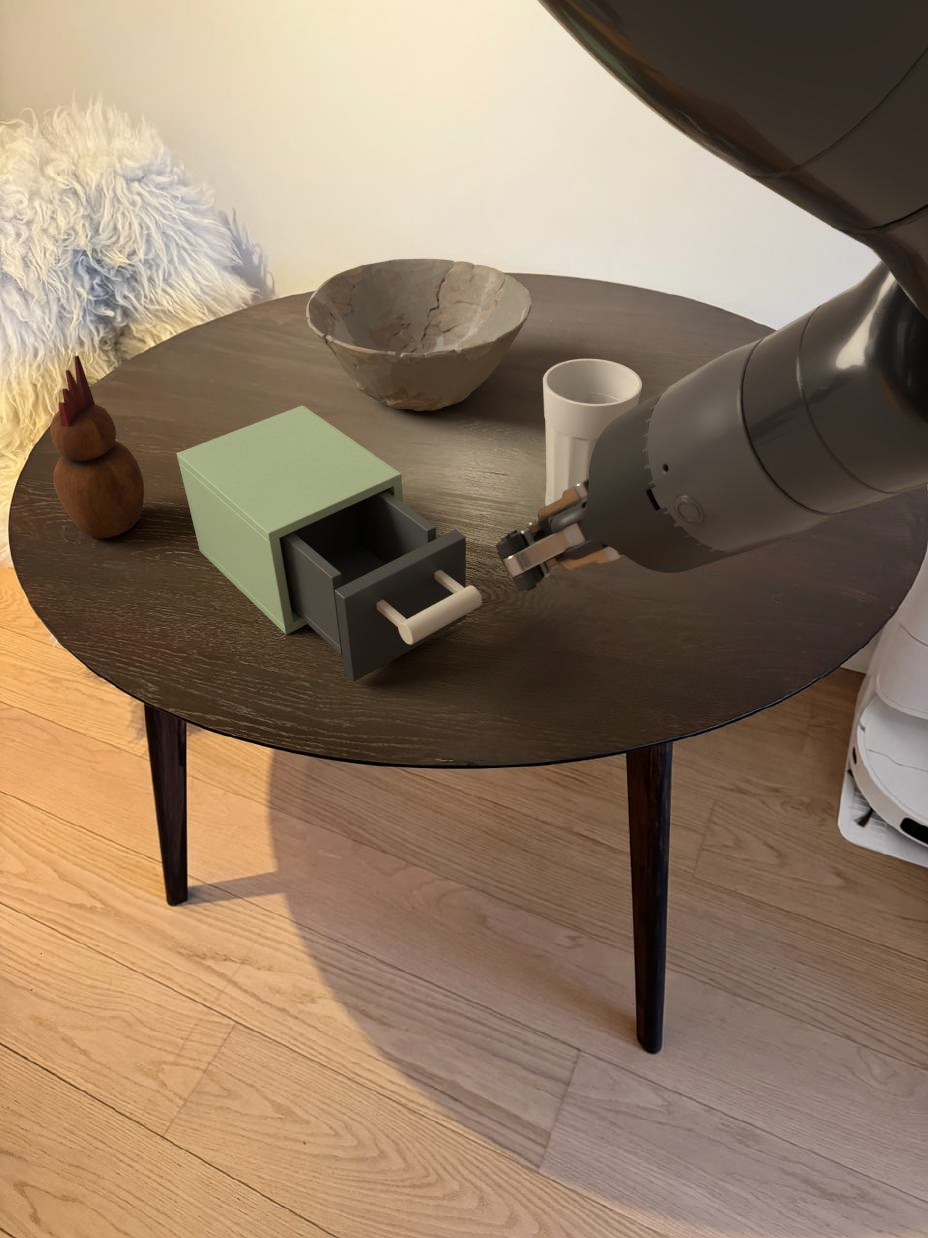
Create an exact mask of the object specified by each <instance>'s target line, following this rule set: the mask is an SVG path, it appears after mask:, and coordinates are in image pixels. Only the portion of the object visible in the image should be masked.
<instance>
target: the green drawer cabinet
mask: <svg viewBox="0 0 928 1238" xmlns="http://www.w3.org/2000/svg"><path fill="white" fill-rule="evenodd" d="M176 457H177V461H178V465H179V469H180V474H181V477H182V478H181V479H182V482H183V486H184V490H185V495H186V499H187V502H188V507H189V512H190V516H191V519H192V523H193V528H194V532H195V536H196V541H197V544H198V550H199V552H200V553H201V554H202V555H203V556H204V557H205V558H206V559H207V560H208V561H209V562H211V564H212V565H213V566H214V567H215V568H216V569H217V570H219V572H221V574H223V576H225V577H226V578H227V579H228V580H229V581H230V582H231V583H232V584H233V585H234V586H235V587H236V588H237V589H238V590H239V591H240V592H241V593H242V594H243V595H244V596H245V597H246V598H247V599H248V600H250V601H251V603H252V604H254V605H255V606H256V607H257V608H258V609H259V610H260V611H261V612H262V613H263V614H264V615H265V616H266V617H267V618H268V619H269V620H270V621H271V622H272V623H273V624H274V625H275V626H276V627H277V628H279V630H280V631H282V633H283V634H285V635H286V636H287V635H289V634H290V633H293V632H295V631H297V630H298V629H301V628H302V627H305V626H306V625H308V624H307V623H306V622H305V621H304V620H303V619H302V618H301V617H300V616H299V615H298V614H297V613H296V612H294V611H293V610H292V609H291V606H290V600H289V594H288V588H287V582H286V576H285V570H284V564H283V558H282V552H281V546H280V540H279V538H280V537H282V536H285V535H287V534H289V533H291V532H293V531H296V530H298V529H300V528H302V527H304V526H307V525H309V524H311V523H313V522H315V521H318V520H320V519H322V518H324V517H326V516H329V515H331V514H333V513H335V512H337V511H340V510H342V509H344V508H346V507H348V506H351V505H353V504H355V503H357V502H359V501H362V500H364V499H366V498H368V497H370V496H373V495H375V494H377V493H379V492H381V491H384V490H386V491H387V492H389V493H390V494H391V495H393V496H394V497H396V498H397V499H398V500H400V501H401V502H402V503H404V493H403V477H402V473H401V472H400V471H398V470H397V469H395V468H394V467H393V466H391V465H389V464H388V463H386V461H384V460H382V459H381V458H380V457H378V456H377V455H375V454H373V452H371V451H369V450H368V449H367V448H365V447H364V446H363V445H361V444H360V443H358V442H357V441H355V440H353V439H352V438H350V437H349V436H348V435H347V434H345V433H344V432H342V431H340V430H339V429H338V428H336V427H335V426H333V425H332V424H331V423H329V422H328V421H327V420H325V419H324V418H322V417H321V416H319V415H318V414H316V413H315V412H313V411H312V410H310V409H309V408H308V407H306V406H305V405H300V406H297V407H294V408H291V409H289V410H286V411H284V412H281V413H279V414H276V415H273V416H270V417H268V418H266V419H263V420H261V421H258V422H254V423H251V424H250V425H247V426H244V427H242V428H239V429H237V430H234V431H231V432H229V433H226V434H224V435H221V436H218V437H216V438H213V439H210V440H208V441H205V442H202V443H200V444H197V445H194V446H192V447H188V448H187V449H184V450H181V451H179V452H176Z"/></svg>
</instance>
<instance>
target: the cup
mask: <svg viewBox="0 0 928 1238" xmlns="http://www.w3.org/2000/svg"><path fill="white" fill-rule="evenodd" d="M542 387H543V389H542V391H543V413H544V415H543V416H544V419H545V423H544V424H545V460H546V462H545V466H546V467H545V468H546V470H545V471H546V487H545V498H544V499H545V502H544V504H545V507H546V506H548V505H549V504H551V503H553V502H555V501H557V500H559V499H561V498H562V494H563V492H564V491H565V490H567V489H569V488H571V487H573V486H574V485H576V484H578V483H580V482H582V481H584V480H586V479H588V478H589V467H590V461H591V456H592V452H593V449H594V447H595V444H596V442H597V440H598V438H599V437H600V435H601V433H602V432H603V431H604V429H605V428H606V427H607V426H608V425H609V424H610V423H611V422H612V421H613V420H614V419H616V418H617V417H619V416H620V415H622V414H623V413H625V412H627V411H628V410H630V409H632V408H634V407H635V406H637V405H639V400H640V397H641V392H642V388H643V382H642V379H641V377H640V375H638V373H636V372H635V371H634V370H632V369H631V368H630V367H627V366H626V365H624V364H621V363H618V362H615V361H611V360H606V359H599V358H577V359H570V360H565V361H562V362H559V363H556V364H554V365H552V366H551V367H550V368H549V369H547V371H546V372H545V373H544V375H543V378H542Z"/></svg>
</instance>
